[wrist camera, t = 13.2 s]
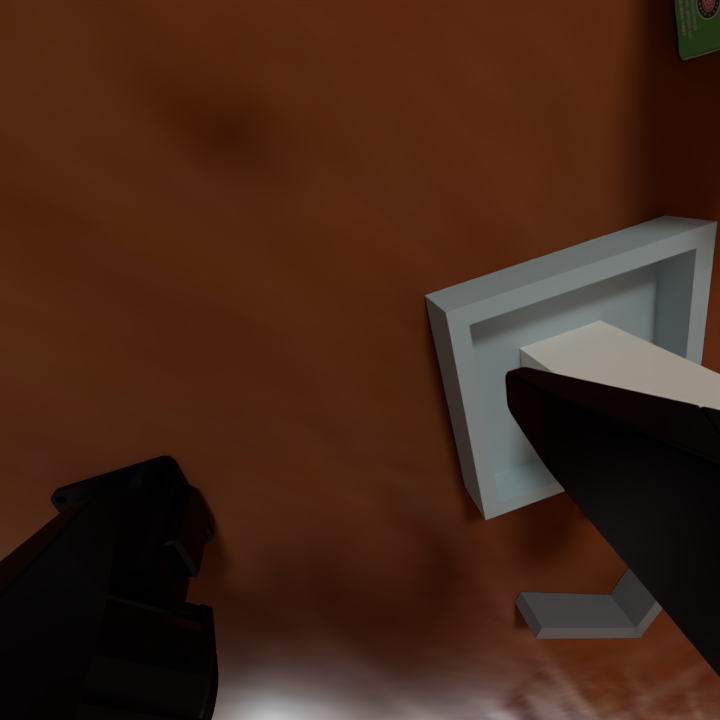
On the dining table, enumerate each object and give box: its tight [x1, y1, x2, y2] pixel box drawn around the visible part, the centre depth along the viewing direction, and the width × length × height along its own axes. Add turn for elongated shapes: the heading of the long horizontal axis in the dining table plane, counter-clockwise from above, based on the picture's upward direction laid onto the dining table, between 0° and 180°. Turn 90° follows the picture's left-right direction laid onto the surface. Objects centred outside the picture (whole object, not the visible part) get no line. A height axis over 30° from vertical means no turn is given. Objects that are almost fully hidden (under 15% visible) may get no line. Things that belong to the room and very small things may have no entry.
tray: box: [425, 216, 717, 520], centre depth 24 cm, size 14×14×3 cm
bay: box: [515, 568, 662, 638], centre depth 32 cm, size 11×13×3 cm
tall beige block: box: [519, 320, 720, 410], centre depth 19 cm, size 6×5×12 cm
